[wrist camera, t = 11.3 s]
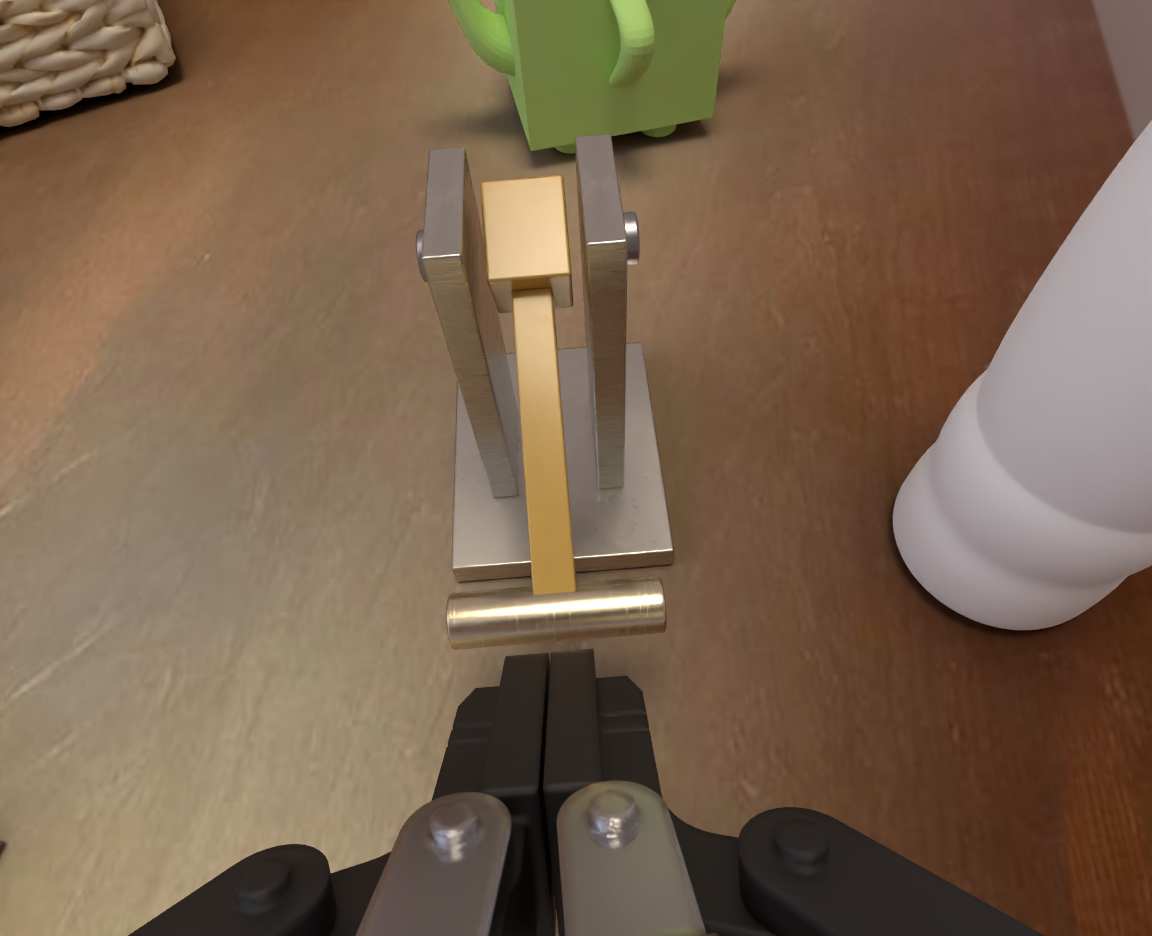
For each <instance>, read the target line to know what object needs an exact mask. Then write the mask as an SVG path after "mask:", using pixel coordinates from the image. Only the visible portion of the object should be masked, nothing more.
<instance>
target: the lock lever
mask: <svg viewBox="0 0 1152 936" xmlns="http://www.w3.org/2000/svg"><path fill="white" fill-rule="evenodd" d="M481 199H482V214H483V229H484V243H485V258H486V273H487V282H488V284H489V287H490V290H491V293H492V295H493V298H494V301H495V304H496V307H497V309H498V312H499V313H506V312H513V324H514V338H515V352H516V366H517V380H518V394H519V408H520V422H521V436H522V449H523V463H524V477H525V491H526V505H527V519H528V533H529V547H530V561H531V575H532V587H521V588H508V589H496V590H484V591H472V592H460V593H452V594H450V595H449V597H448V601H447V607H446V626H447V635H448V640H449V643H450V646H451V648H452V649H455V650H458V649H471V648H483V647H495V646H508V645H520V644H532V643H545V642H557V641H569V640H581V639H594V638H606V637H618V636H631V635H643V634H655V633H663V632H665V630H666V605H665V597H664V590H663V585H662V581H661V579H660V577H657V576H655V577H643V578H631V579H619V580H606V581H594V582H582V583H576V574H575V562H574V549H573V537H572V524H571V512H570V500H569V487H568V475H567V462H566V450H565V437H564V425H563V412H562V400H561V387H560V375H559V362H558V350H557V337H556V325H555V313H554V308H565V307H572V306H573V292H572V275H571V263H570V251H569V239H568V227H567V215H566V203H565V192H564V180H563V176H562V175H556V176H544V177H533V178H521V179H510V180H498V181H486V182H481Z"/></svg>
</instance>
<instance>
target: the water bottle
mask: <svg viewBox="0 0 1152 936" xmlns="http://www.w3.org/2000/svg"><path fill="white" fill-rule="evenodd" d="M893 530H894V535H895V540H896V543H897V546H898V549H899V551H900V554H901V556H902V558H903V560H904V562H905V564H906V565H907V567H908V568H909V570H910V571H911V573H912V574H913V576H914V577H915V578H916V579H917V580H918V581H919V583H920V584H921V585H922V586H923V587H924V588H925V589H926V590H927V591H928V592H929V593H930V594H932V595H933V596H934V597H935V598H936V599H937V600H939V601H940V602H941V603H943V604H944V605H946V606H947V607H949V608H950V609H952V610H954V611H955V612H957V613H959V614H961V615H963V616H965V617H967V618H969V619H972V620H974V621H977V622H980V623H983V624H986V625H989V626H993V627H998V628H1003V629H1010V630H1037V629H1043V628H1048V627H1052V626H1056V625H1058V624H1061V623H1064V622H1066V621H1068V620H1070V619H1072V618H1074V617H1076V616H1078V615H1079V614H1081V613H1082V612H1084V611H1086V610H1087V609H1089V608H1090V607H1092V606H1093V605H1094V604H1096V603H1097V602H1099V601H1100V600H1101V599H1103V598H1104V597H1105V596H1107V595H1108V594H1109V593H1110V592H1111V591H1113V590H1114V589H1115V588H1116V587H1117V586H1118V585H1119V584H1120V583H1121V582H1122V581H1123V580H1124V579H1125V578H1126V577H1127V576H1129V575H1132V574H1134V573H1136V572H1139V571H1141V570H1143V569H1145V568H1147V567H1149V566H1151V565H1152V120H1151V121H1150V123H1149V124H1148V125H1147V127H1146V128H1145V129H1144V131H1143V132H1142V133H1141V134H1140V136H1139V137H1138V138H1137V140H1136V141H1135V142H1134V143H1133V145H1132V146H1131V147H1130V149H1129V150H1128V151H1127V153H1126V154H1125V156H1124V157H1123V158H1122V160H1121V161H1120V162H1119V164H1118V165H1117V166H1116V168H1115V169H1114V170H1113V172H1112V173H1111V175H1110V176H1109V177H1108V179H1107V180H1106V181H1105V183H1104V184H1103V186H1102V187H1101V189H1100V190H1099V191H1098V193H1097V194H1096V196H1095V197H1094V199H1093V200H1092V201H1091V203H1090V204H1089V206H1088V207H1087V209H1086V210H1085V211H1084V213H1083V214H1082V216H1081V217H1080V219H1079V220H1078V222H1077V223H1076V225H1075V226H1074V228H1073V229H1072V231H1071V232H1070V234H1069V235H1068V237H1067V238H1066V239H1065V241H1064V242H1063V244H1062V245H1061V247H1060V248H1059V250H1058V251H1057V253H1056V254H1055V256H1054V257H1053V259H1052V261H1051V262H1050V264H1049V265H1048V267H1047V268H1046V270H1045V271H1044V273H1043V274H1042V276H1041V277H1040V279H1039V281H1038V282H1037V284H1036V285H1035V287H1034V288H1033V290H1032V292H1031V293H1030V295H1029V296H1028V298H1027V300H1026V301H1025V303H1024V304H1023V306H1022V308H1021V309H1020V311H1019V313H1018V314H1017V316H1016V318H1015V319H1014V321H1013V323H1012V325H1011V326H1010V328H1009V330H1008V331H1007V333H1006V335H1005V337H1004V339H1003V340H1002V342H1001V344H1000V346H999V348H998V350H997V352H996V354H995V356H994V358H993V360H992V362H991V364H990V366H989V368H988V369H987V370H986V371H985V372H984V373H983V374H982V375H981V376H979V377H978V378H977V379H976V380H975V382H974V383H973V384H972V385H971V386H970V387H969V388H968V389H967V391H966V392H965V393H964V394H963V396H962V397H961V398H960V400H959V401H958V403H957V404H956V405H955V407H954V408H953V410H952V412H951V413H950V415H949V416H948V418H947V420H946V422H945V424H944V426H943V428H942V430H941V432H940V435H939V437H938V440H937V441H936V442H935V443H934V444H933V445H932V446H931V447H930V448H929V449H928V450H927V451H926V452H925V454H924V455H923V456H922V457H921V458H920V460H919V461H918V462H917V464H916V465H915V466H914V468H913V469H912V471H911V472H910V473H909V475H908V476H907V478H906V480H905V481H904V483H903V484H902V486H901V488H900V490H899V493H898V495H897V498H896V501H895V505H894V510H893Z"/></svg>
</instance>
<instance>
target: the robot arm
mask: <svg viewBox="0 0 1152 936" xmlns="http://www.w3.org/2000/svg"><path fill="white" fill-rule="evenodd" d="M556 910H557V919H558V928H559V936H1044V935H1042V934H1040V933H1039V932H1037V931H1035V930H1033V929H1031V928H1030V927H1028V926H1026V925H1024V924H1022V923H1021V922H1019V921H1017V920H1015V919H1013V918H1012V917H1010V916H1008V915H1006V914H1005V913H1003V912H1001V911H999V910H997V909H996V908H994V907H992V906H990V905H988V904H987V903H985V902H983V901H981V900H980V899H978V898H976V897H974V896H972V895H971V894H969V893H967V892H965V891H963V890H962V889H960V888H958V887H956V886H955V885H953V884H951V883H949V882H947V881H946V880H944V879H942V878H940V877H938V876H937V875H935V874H933V873H931V872H929V871H928V870H926V869H924V868H922V867H921V866H919V865H917V864H915V863H913V862H912V861H910V860H908V859H906V858H904V857H903V856H901V855H899V854H897V853H896V852H894V851H892V850H890V849H888V848H887V847H885V846H883V845H881V844H879V843H878V842H876V841H874V840H872V839H871V838H869V837H867V836H865V835H863V834H862V833H860V832H858V831H856V830H854V829H853V828H851V827H849V826H847V825H846V824H844V823H842V822H840V821H838V820H837V819H835V818H832V817H830V816H828V815H826V814H823V813H820V812H818V811H814V810H810V809H804V808H796V807H784V808H776V809H772V810H768V811H765V812H762V813H760V814H758V815H756V816H755V817H753V818H752V819H750V820H749V821H748V822H747V823H746V824H745V826H744V827H743V829H742V830H741V832H740V835H739V838H737V837H731V836H725V835H720V834H715V833H710V832H706V831H703V830H700V829H697V828H695V827H693V826H691V825H689V824H687V823H685V822H684V821H682V820H681V819H679V818H678V817H677V816H675V815H674V814H673V813H672V812H671V811H670V809H669V808H668V807H667V805H666V803H665V802H664V800H663V798H662V794H661V790H660V785H659V779H658V774H657V768H656V763H655V757H654V752H653V747H652V741H651V736H650V731H649V725H648V719H647V714H646V709H645V703H644V698H643V692H642V691H641V690H640V689H639V688H638V687H637V686H636V685H635V684H634V683H633V682H632V681H631V680H630V679H629V678H628V677H627V676H618V677H606V678H596V673H595V662H594V651H593V649H587V650H574V651H562V652H552V653H551V664H550V659H549V654H548V653H539V654H527V655H514V656H506V657H505V661H504V666H503V671H502V677H501V682H500V686H496V687H484V688H475V689H474V690H473V692H472V693H471V694H470V695H469V696H468V697H467V698H466V699H465V700H464V701H463V702H462V703H461V704H460V705H459V706H458V709H457V713H456V717H455V720H454V724H453V730H452V731H451V734H450V738H449V741H448V747H447V748H446V752H445V755H444V759H443V762H442V766H441V769H440V773H439V776H438V780H437V783H436V787H435V791H434V794H433V798H432V801H431V802H429V803H427V804H425V805H424V806H422V807H421V808H419V809H418V810H417V811H415V812H414V813H413V814H412V815H411V816H410V817H409V818H408V820H407V821H406V822H405V823H404V825H403V827H402V829H401V830H400V833H399V835H398V837H397V840H396V842H395V844H394V847H393V849H392V851H391V852H389V853H387V854H385V855H383V856H381V857H379V858H376V859H373V860H371V861H368V862H365V863H362V864H359V865H356V866H353V867H350V868H346V869H343V870H340V871H337V872H334V873H331V874H330V869H329V864H328V860H327V859H326V857H325V855H324V854H323V853H322V852H320V851H319V850H317V849H315V848H314V847H311V846H307V845H300V844H288V845H281V846H276V847H272V848H268V849H265V850H263V851H260V852H257V853H255V854H253V855H251V856H249V857H247V858H245V859H243V860H241V861H240V862H238V863H236V864H235V865H233V866H232V867H230V868H229V869H227V870H226V871H224V872H223V873H221V874H220V875H218V876H217V877H215V878H214V879H212V880H211V881H209V882H208V883H206V884H205V885H203V886H202V887H200V888H199V889H197V890H196V891H194V892H193V893H191V894H190V895H188V896H187V897H185V898H184V899H182V900H181V901H179V902H178V903H176V904H175V905H173V906H172V907H170V908H169V909H167V910H166V911H164V912H163V913H161V914H160V915H158V916H157V917H155V918H154V919H152V920H151V921H149V922H148V923H146V924H145V925H143V926H142V927H140V928H139V929H137V930H136V931H134V932H133V933H131V934H130V935H128V936H555V928H556Z"/></svg>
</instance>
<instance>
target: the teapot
mask: <svg viewBox="0 0 1152 936" xmlns="http://www.w3.org/2000/svg"><path fill="white" fill-rule="evenodd" d="M448 1H449V3H450V5H451V7H452V9H453V11H454V13H455V15H456V17H457V19H458V22H459V24H460V26H461V28H462V30H463V32H464V34H465V36H466V38H467V40H468V42H469V44H470V45H471V46H472V48H473V49H474V51H475V52H476V54H477V55H478V56H479V57H480V58H481V59H482V60H483V61H484V62H485V63H486V64H487V65H489V66H491V67H492V68H494V69H496V70H497V71H499V72H502V73H505V74H506V75H507V78H508V82H509V85H510V88H511V91H512V94H513V97H514V100H515V103H516V107H517V110H518V113H519V116H520V119H521V122H522V125H523V128H524V131H525V134H526V138H527V141H528V144H529V147H530V150H531V151H534V150H540V149H546V148H551V147H554V148H555V149H557V150H558V151H560V152H563V153H575V138H576V137H580V136H592V135H604V134H610V135H611V136H616V135H622V134H627V133H632V132H638V131H642V132H643V133H644V134H646V135H648V136H652V137H663V136H667V135H669V134H671V133H672V132H674V130H675V129H676V124H681V123H686V122H691V121H697V120H702V119H707V118H713V116H714V107H715V99H716V90H717V82H718V74H719V65H720V57H721V48H722V40H723V31H724V23H725V19H726V18H727V16H728V15H729V13H730V12H731V10H732V8H733V6H734V3H735V1H736V0H495V7H496V13H494V12H491V11H489V10H488V9H486V8H485V7H484V6H483V5H482V4H481V3H480V2H479V0H448Z"/></svg>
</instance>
